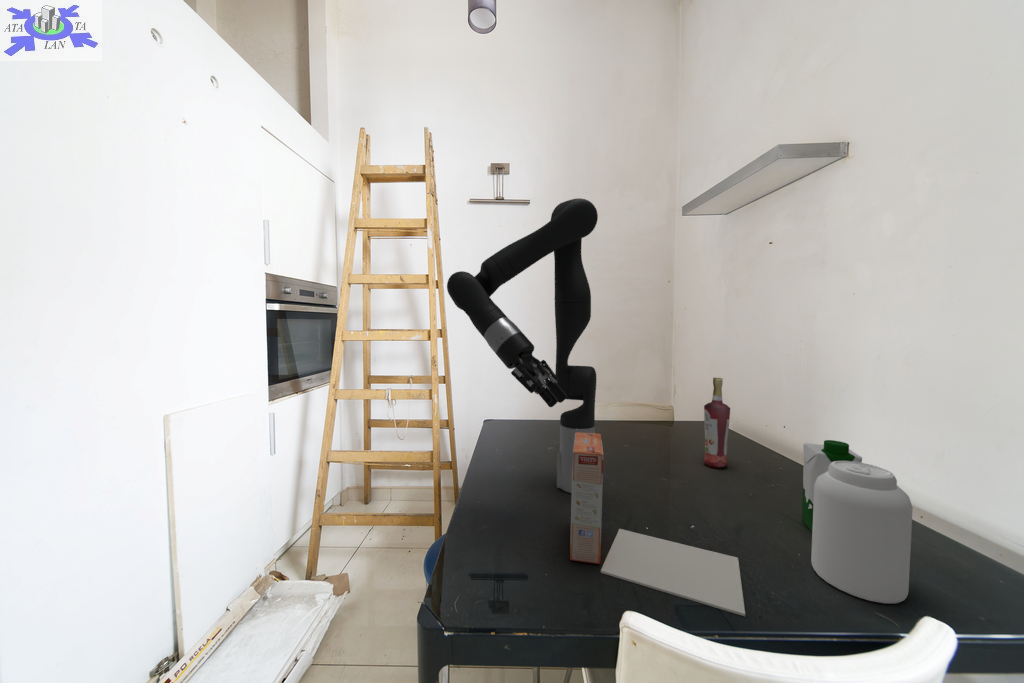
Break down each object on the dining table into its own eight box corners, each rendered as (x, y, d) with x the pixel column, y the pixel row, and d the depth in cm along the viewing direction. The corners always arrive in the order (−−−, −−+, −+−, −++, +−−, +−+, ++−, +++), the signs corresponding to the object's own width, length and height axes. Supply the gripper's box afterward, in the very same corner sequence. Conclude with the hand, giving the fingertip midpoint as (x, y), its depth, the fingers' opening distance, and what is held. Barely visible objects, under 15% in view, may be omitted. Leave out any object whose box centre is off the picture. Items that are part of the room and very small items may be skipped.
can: (888, 616, 58) (895, 487, 57) (796, 570, 69) (800, 461, 68) (921, 591, 64) (927, 473, 63) (831, 551, 75) (835, 451, 74)
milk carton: (812, 538, 80) (815, 443, 79) (795, 518, 88) (798, 432, 87) (864, 546, 77) (868, 448, 76) (842, 524, 85) (846, 436, 85)
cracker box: (602, 566, 70) (604, 453, 69) (569, 561, 71) (570, 450, 70) (600, 527, 84) (602, 432, 83) (572, 523, 85) (574, 430, 84)
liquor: (733, 470, 118) (736, 379, 117) (709, 469, 118) (712, 379, 117) (720, 461, 125) (723, 376, 124) (698, 461, 125) (700, 376, 124)
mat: (600, 572, 68) (600, 570, 68) (619, 530, 82) (619, 528, 82) (745, 616, 58) (745, 614, 58) (737, 559, 72) (737, 557, 72)
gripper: (503, 330, 76) (560, 396, 71) (533, 330, 89) (582, 385, 84) (481, 356, 79) (533, 420, 74) (512, 352, 92) (559, 407, 87)
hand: (559, 401), depth 79 cm, fingers open, 5 cm apart
